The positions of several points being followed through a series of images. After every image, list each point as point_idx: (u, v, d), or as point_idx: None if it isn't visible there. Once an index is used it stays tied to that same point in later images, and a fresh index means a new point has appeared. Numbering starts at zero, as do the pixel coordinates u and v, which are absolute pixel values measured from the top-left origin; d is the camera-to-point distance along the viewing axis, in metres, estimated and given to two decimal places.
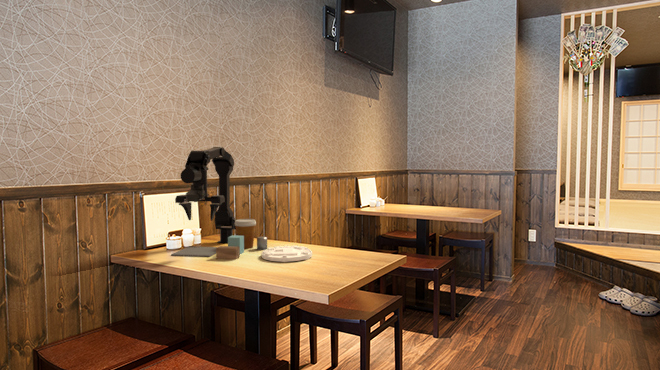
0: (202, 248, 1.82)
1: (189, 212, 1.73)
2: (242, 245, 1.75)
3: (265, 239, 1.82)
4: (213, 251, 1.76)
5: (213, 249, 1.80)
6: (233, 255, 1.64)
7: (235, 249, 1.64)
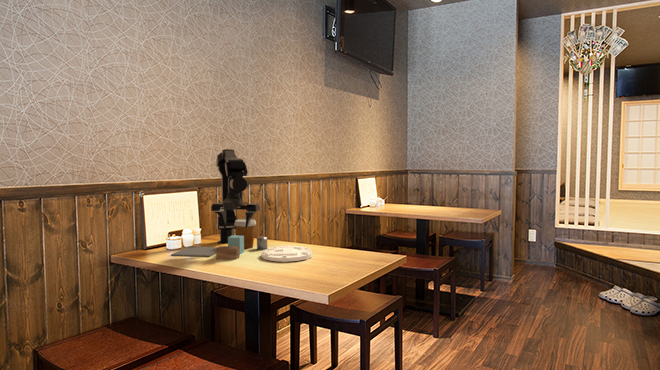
0: (202, 248, 1.82)
1: (224, 220, 1.75)
2: (242, 245, 1.75)
3: (265, 239, 1.82)
4: (213, 251, 1.76)
5: (213, 249, 1.80)
6: (233, 255, 1.64)
7: (235, 249, 1.64)
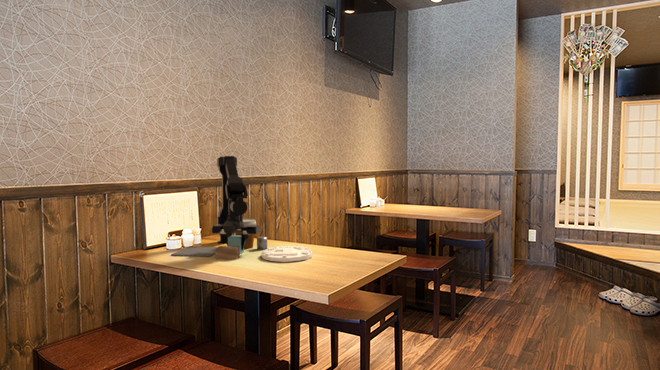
0: (202, 248, 1.82)
1: None
2: None
3: (265, 239, 1.82)
4: (213, 251, 1.76)
5: (213, 249, 1.80)
6: (233, 255, 1.64)
7: (235, 249, 1.64)
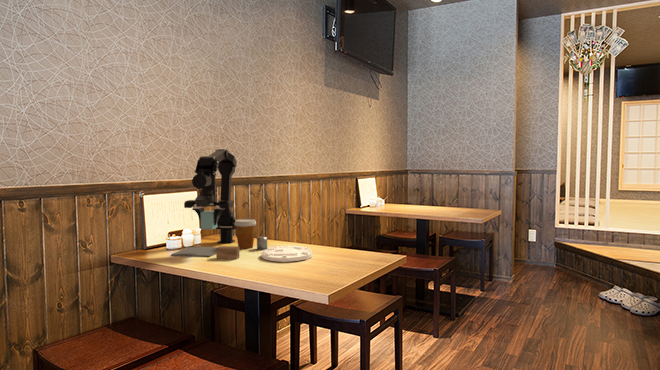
0: (202, 248, 1.82)
1: None
2: None
3: (265, 239, 1.82)
4: (213, 251, 1.76)
5: (213, 249, 1.80)
6: (233, 255, 1.64)
7: (235, 249, 1.64)
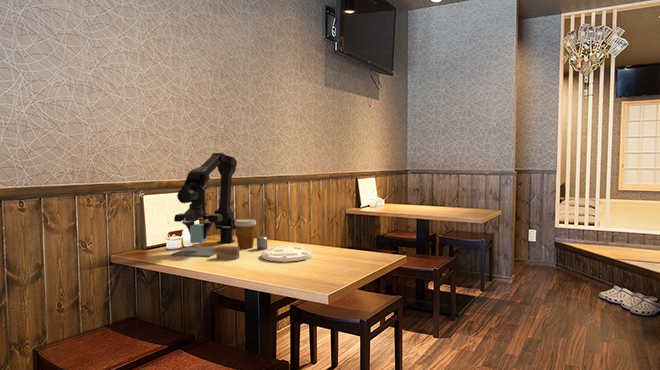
0: (202, 248, 1.82)
1: None
2: None
3: (265, 239, 1.82)
4: (213, 251, 1.76)
5: (213, 249, 1.80)
6: (234, 255, 1.64)
7: (236, 249, 1.64)
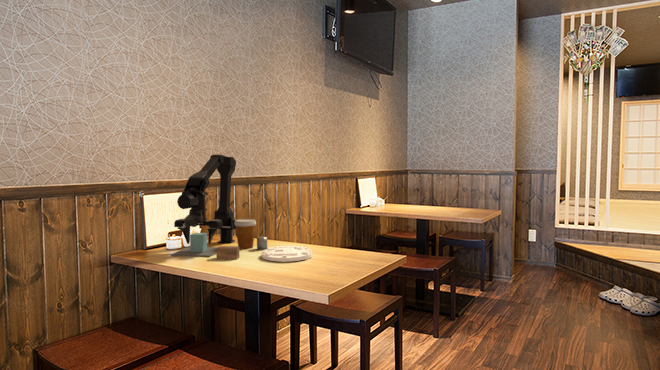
0: None
1: (188, 236, 1.77)
2: (205, 242, 1.77)
3: (265, 239, 1.82)
4: (213, 251, 1.76)
5: (213, 249, 1.80)
6: (234, 255, 1.64)
7: (236, 249, 1.64)
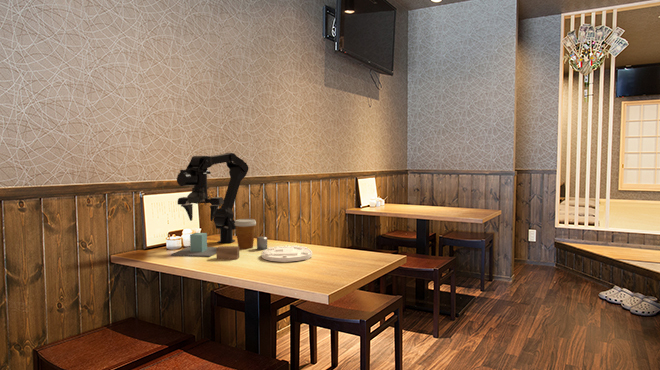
0: None
1: (190, 213, 1.86)
2: (205, 242, 1.77)
3: (265, 239, 1.82)
4: (213, 251, 1.76)
5: (213, 249, 1.80)
6: (234, 255, 1.64)
7: (236, 249, 1.64)
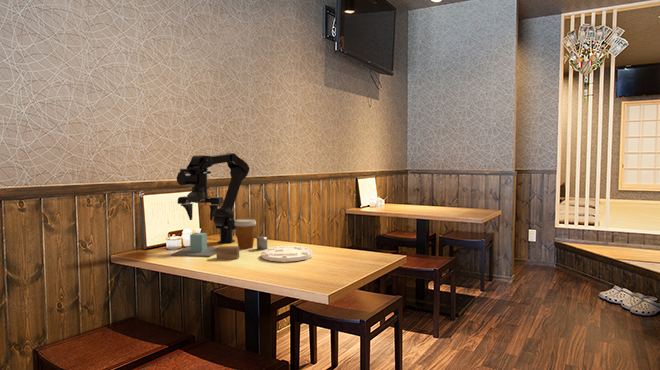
0: None
1: (190, 212, 1.86)
2: (205, 242, 1.77)
3: (265, 239, 1.82)
4: (213, 251, 1.76)
5: (213, 249, 1.80)
6: (234, 255, 1.64)
7: (236, 249, 1.64)
